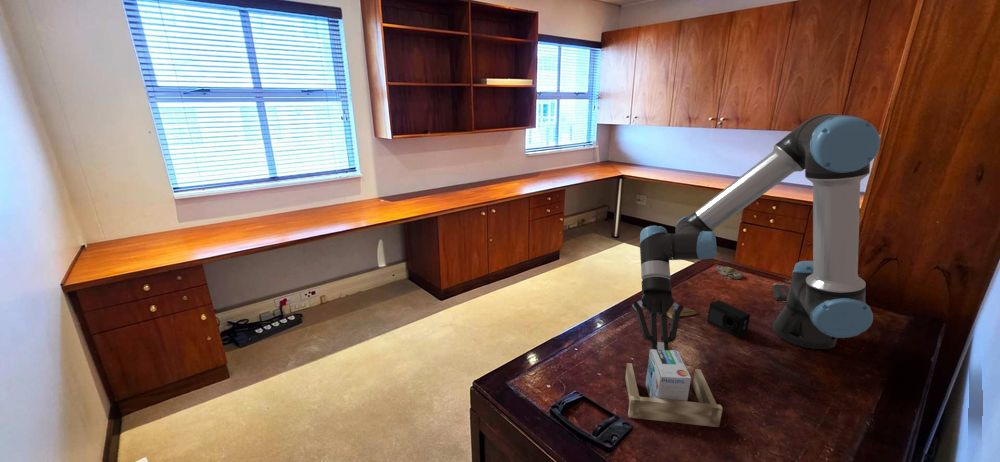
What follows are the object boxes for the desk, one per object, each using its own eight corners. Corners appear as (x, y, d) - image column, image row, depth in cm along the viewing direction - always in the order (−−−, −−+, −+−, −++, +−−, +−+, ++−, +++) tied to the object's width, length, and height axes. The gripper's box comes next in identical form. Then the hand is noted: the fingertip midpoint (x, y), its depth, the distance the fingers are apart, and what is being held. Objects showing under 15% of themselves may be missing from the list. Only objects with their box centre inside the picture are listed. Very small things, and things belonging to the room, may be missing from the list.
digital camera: (703, 322, 128) (707, 303, 126) (715, 318, 131) (718, 299, 128) (734, 339, 120) (738, 318, 117) (746, 334, 122) (750, 314, 120)
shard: (697, 315, 134) (698, 310, 133) (693, 325, 128) (694, 320, 127) (663, 306, 140) (664, 301, 139) (658, 316, 134) (658, 311, 133)
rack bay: (700, 386, 100) (703, 369, 99) (719, 427, 88) (722, 408, 87) (622, 379, 104) (623, 362, 102) (628, 417, 91) (630, 399, 90)
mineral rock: (749, 272, 159) (737, 270, 155) (746, 282, 160) (734, 281, 156) (724, 263, 168) (712, 262, 164) (721, 273, 169) (709, 272, 165)
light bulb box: (644, 384, 101) (648, 347, 98) (672, 386, 101) (677, 349, 97) (655, 416, 91) (660, 376, 88) (686, 418, 91) (692, 378, 87)
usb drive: (775, 302, 141) (777, 295, 140) (770, 287, 151) (771, 281, 151) (793, 305, 139) (795, 297, 138) (786, 290, 149) (788, 283, 148)
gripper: (677, 285, 113) (684, 374, 103) (629, 283, 115) (631, 369, 105) (684, 276, 107) (693, 370, 96) (633, 274, 109) (636, 364, 99)
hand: (661, 369), depth 101 cm, fingers closed
